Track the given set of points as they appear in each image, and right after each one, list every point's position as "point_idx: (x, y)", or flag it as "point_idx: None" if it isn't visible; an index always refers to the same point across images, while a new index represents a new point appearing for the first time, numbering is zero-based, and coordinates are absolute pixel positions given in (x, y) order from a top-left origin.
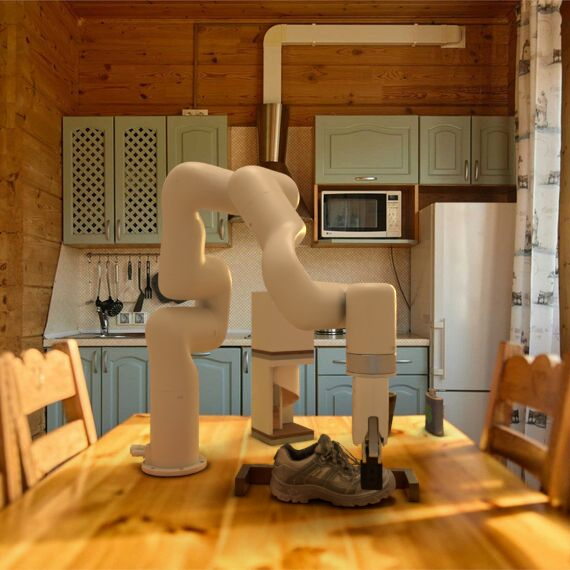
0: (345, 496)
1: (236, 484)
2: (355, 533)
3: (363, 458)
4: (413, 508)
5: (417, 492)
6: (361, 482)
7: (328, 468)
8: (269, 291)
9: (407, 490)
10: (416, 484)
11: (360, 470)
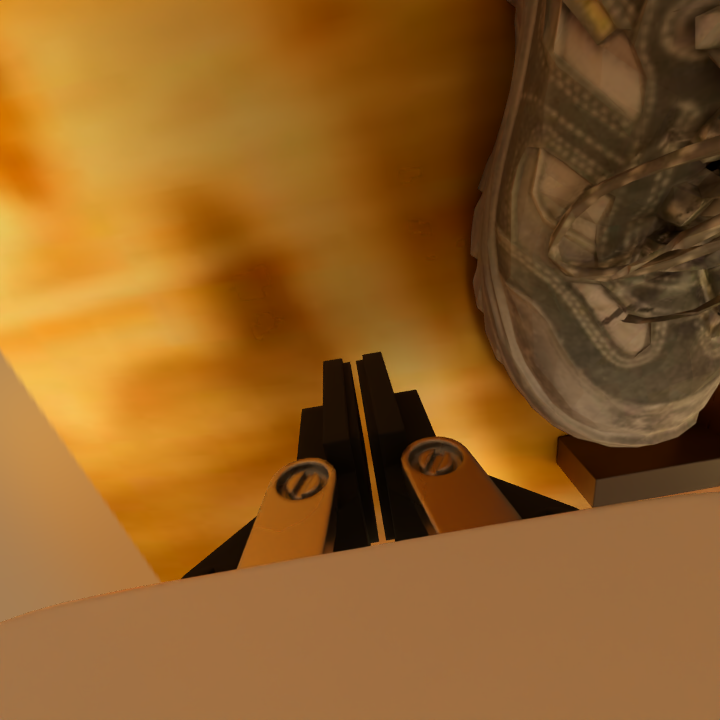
0: (489, 226)
1: None
2: (234, 295)
3: (265, 504)
4: (499, 451)
5: (574, 480)
6: (325, 377)
7: (630, 102)
8: None
9: None
10: (590, 498)
11: (372, 394)
